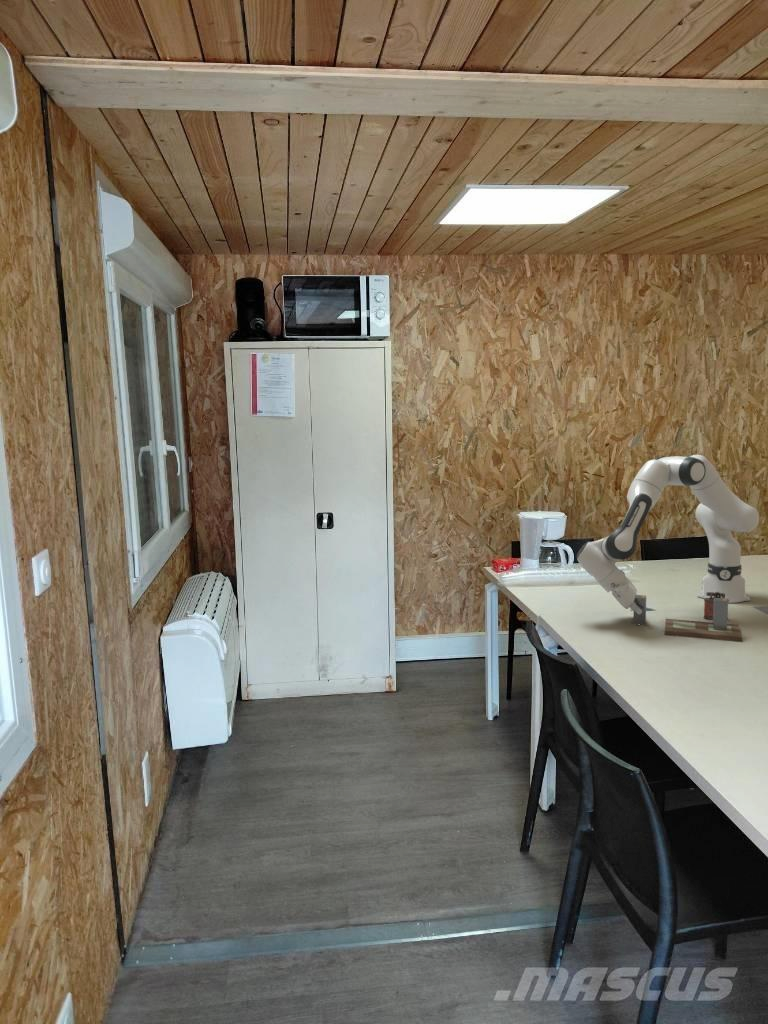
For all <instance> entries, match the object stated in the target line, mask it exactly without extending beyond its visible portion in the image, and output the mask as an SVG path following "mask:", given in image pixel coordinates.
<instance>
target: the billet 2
mask: <svg viewBox="0 0 768 1024" xmlns="http://www.w3.org/2000/svg"><path fill="white" fill-rule="evenodd" d="M728 610H729V603H728V600H727V598H714V611H713V620H712V622H713V630H725V631H727V624H728V620H727V612H728ZM728 613H729V612H728Z"/></svg>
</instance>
